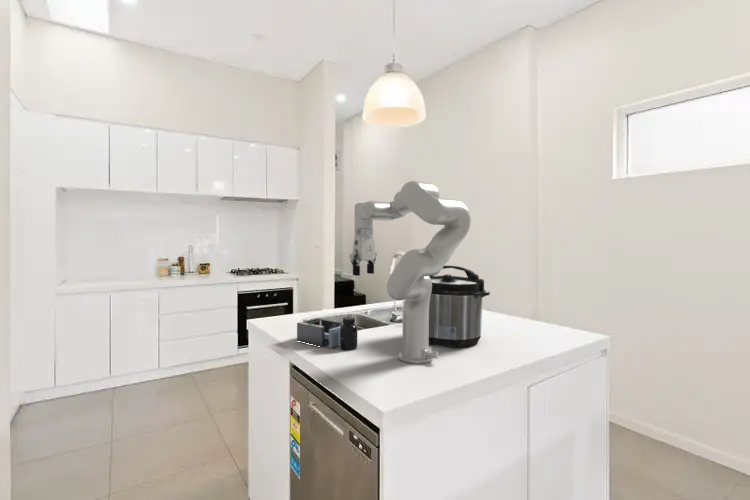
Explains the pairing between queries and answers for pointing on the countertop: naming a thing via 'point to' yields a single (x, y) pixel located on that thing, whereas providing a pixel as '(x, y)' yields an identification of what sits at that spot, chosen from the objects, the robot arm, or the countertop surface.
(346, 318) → the supplement bottle
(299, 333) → the box
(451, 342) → the pressure cooker
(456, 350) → the countertop surface
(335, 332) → the gauge plunger
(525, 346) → the countertop surface
